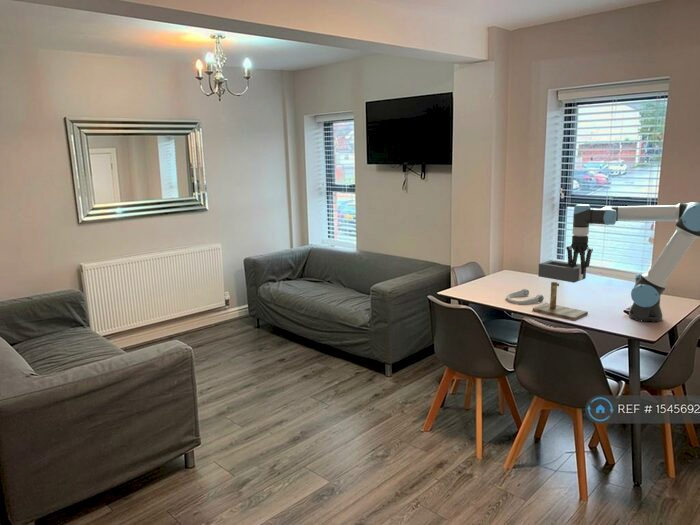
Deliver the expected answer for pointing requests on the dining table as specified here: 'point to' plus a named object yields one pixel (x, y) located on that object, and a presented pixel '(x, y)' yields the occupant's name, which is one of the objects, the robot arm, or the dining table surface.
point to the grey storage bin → (560, 271)
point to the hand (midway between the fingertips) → (577, 279)
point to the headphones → (524, 293)
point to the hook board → (558, 307)
